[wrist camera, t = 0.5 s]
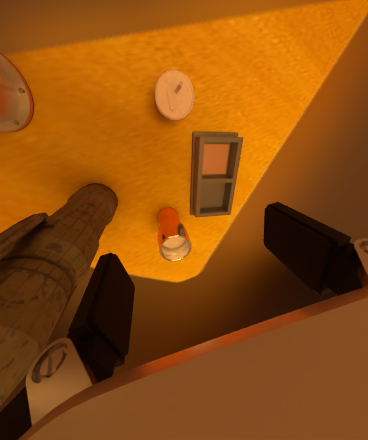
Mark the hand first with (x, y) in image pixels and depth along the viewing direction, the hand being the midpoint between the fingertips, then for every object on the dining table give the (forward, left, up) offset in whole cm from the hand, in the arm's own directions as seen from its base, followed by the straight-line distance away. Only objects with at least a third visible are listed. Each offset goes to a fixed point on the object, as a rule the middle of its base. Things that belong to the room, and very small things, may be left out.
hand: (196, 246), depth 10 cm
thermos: (-16, -8, -33) cm, 37 cm away
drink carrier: (+13, -3, -33) cm, 36 cm away
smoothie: (+2, +12, -33) cm, 35 cm away
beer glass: (+1, -14, -33) cm, 36 cm away
